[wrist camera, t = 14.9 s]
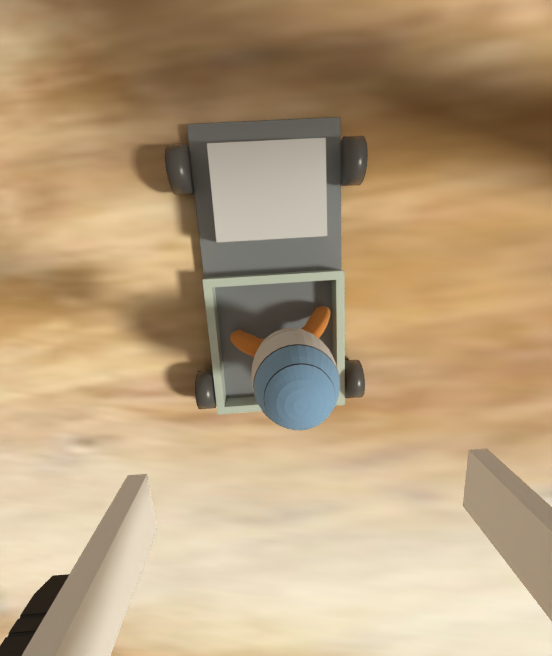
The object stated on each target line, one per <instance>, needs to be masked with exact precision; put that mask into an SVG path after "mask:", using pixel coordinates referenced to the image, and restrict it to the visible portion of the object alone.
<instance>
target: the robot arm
mask: <svg viewBox="0 0 552 656" xmlns="http://www.w3.org/2000/svg"><path fill="white" fill-rule="evenodd" d="M463 507H464V508H465V509H466V510H467V512H468V513H469V514H470V516H471V517H472V518H473V520H474V521H475V522H476V523H477V525H478V526H479V527H480V529H481V530H482V531H483V533H484V534H485V535H486V536H487V538H488V539H489V540H490V542H491V543H492V544H493V546H494V547H495V548H496V549H497V551H498V552H499V553H500V555H501V556H502V557H503V559H504V560H505V561H506V562H507V564H508V565H509V566H510V568H511V569H512V570H513V572H514V573H515V574H516V575H517V577H518V578H519V579H520V581H521V582H522V583H523V585H524V586H525V587H526V588H527V590H528V591H529V592H530V594H531V595H532V596H533V598H534V599H535V600H536V601H537V603H538V604H539V605H540V607H541V608H542V609H543V611H544V612H545V613H546V614H547V616H548V617H549V618H550V620H551V621H552V507H551V506H550V505H549V504H548V503H547V502H545V501H544V500H543V499H542V498H541V497H540V496H539V495H538V494H537V493H535V492H534V491H533V490H532V489H531V488H530V487H529V486H528V485H527V484H526V483H524V482H523V481H522V480H521V479H520V478H519V477H518V476H517V475H516V474H514V473H513V472H512V471H511V470H510V469H509V468H508V467H507V466H506V465H505V464H503V463H502V462H501V461H500V460H499V459H498V458H497V457H496V456H495V455H493V454H492V453H491V452H490V451H489V450H488V449H475V450H469V451H468V461H467V471H466V480H465V490H464V499H463ZM156 532H157V526H156V520H155V515H154V509H153V504H152V498H151V493H150V487H149V482H148V476H147V474H141V475H128V476H127V478H126V479H125V481H124V483H123V485H122V486H121V488H120V490H119V491H118V493H117V495H116V496H115V498H114V500H113V502H112V503H111V505H110V507H109V508H108V510H107V512H106V513H105V515H104V517H103V518H102V520H101V522H100V524H99V525H98V527H97V529H96V530H95V532H94V534H93V535H92V537H91V539H90V541H89V542H88V544H87V546H86V547H85V549H84V551H83V552H82V554H81V556H80V558H79V559H78V561H77V563H76V564H75V566H74V568H73V569H72V571H71V573H70V574H68V575H56V576H52V577H51V578H50V579H49V580H48V581H47V582H46V583H45V584H44V585H43V586H42V587H41V588H40V589H39V590H38V591H37V592H36V593H35V594H34V595H33V597H32V598H31V600H30V601H29V603H28V604H27V606H26V607H25V609H24V611H23V612H22V614H21V616H20V619H18V620H17V621H16V623H15V624H14V626H13V627H12V629H11V630H10V632H9V635H8V637H6V638H5V639H4V641H3V642H2V644H1V646H0V656H110V655H111V653H112V650H113V647H114V645H115V642H116V639H117V636H118V634H119V631H120V628H121V626H122V623H123V620H124V618H125V615H126V612H127V610H128V607H129V604H130V602H131V599H132V596H133V594H134V591H135V588H136V585H137V583H138V580H139V577H140V575H141V572H142V569H143V567H144V564H145V561H146V559H147V556H148V553H149V551H150V548H151V545H152V543H153V540H154V537H155V535H156Z"/></svg>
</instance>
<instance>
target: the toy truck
mask: <svg viewBox="0 0 552 656" xmlns="http://www.w3.org/2000/svg"><path fill="white" fill-rule="evenodd" d="M187 131H188V140H189V148H188V146H187V145H186V144H182V145H167V146H166V148H165V163H166V170H167V175H168V179H169V183H170V186H171V189H172V191H173V193H174V194H175V195H177V194H195V203H196V212H197V221H198V230H199V239H200V248H201V257H202V266H203V275H204V279H203V289H204V298H205V307H206V316H207V325H208V334H209V342H210V351H211V360H212V369H213V370H207V371H198V372H197V375H196V381H195V395H196V402H197V406H198V408H199V409H210V408H216V406H217V414H231V413H245V412H258V411H262V410H261V408H260V406H259V405H258V403H257V401H256V398H255V396H254V393H253V388H252V382H251V373H252V364H253V360H254V357H253V356H250V355H248V354H246V353H244V352H242V351H241V350H239V349H238V348H237V347H236V346H235V345H234V344H233V343H232V342H231V340H230V336H231V334H232V333H233V332H234V331H237V330H242V331H244V332H247V333H249V334H251V335H254V336H256V337H257V338H260V339H266V338H267V337H268V336H269V335H270V334H272V333H274V332H276V331H278V330H281V329H285V328H298V329H301V328H302V327H303V326H305V325H306V322H307V320H308V319H309V318H310V316H311V315H312V313H313V312H314V310H315V309H316V308H317V307H320V306H326V307H328V308H329V310H330V318H329V322H328V325H327V327H326V329H325V330H324V332H323V334H322V335H321V336H320V338H319V339H320V340H321V341H322V342H323V343H324V344H325V345H326V346H327V348H328V349H329V350H330V352H331V354H332V356H333V358H334V360H335V362H336V365H337V369H338V372H339V377H340V391H339V397H338V399H337V402H336V405H335V406H337V405H345V398H356V397H363V395H364V391H365V379H364V373H363V368H362V365H361V363H360V361H359V360H348V361H345V300H344V271H343V270H341V185H342V186H348V185H360V184H361V183H362V182H363V180H364V177H365V173H366V167H367V143H366V139H365V137H364V136H349V137H343V139H342V141H341V144H340V117H332V118H310V119H288V120H266V121H244V122H222V123H201V124H187ZM189 149H190V151H189Z"/></svg>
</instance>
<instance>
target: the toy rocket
mask: <svg viewBox="0 0 552 656" xmlns="http://www.w3.org/2000/svg"><path fill="white" fill-rule="evenodd" d="M329 318H330V310H329V308H328V307H326V306H320V307H317V308H316V309H315V310H314V312H313V313H312V315H311V316H310V318H309V319H308V320H307V322H306V325H305V326H303V327H302V328H301V329H298V328H285V329H281V330H278V331H276V332H274V333H272V334H270V335H269V336H268V337H267V338H266V339H260V338H257V337H256V336H254V335H251V334H249V333H247V332H244V331H242V330H237V331H234V332H233V333H232V334H231V336H230V340H231V342H232V343H233V344H234V345H235V346H236V347H237V348H238V349H239V350H241V351H242V352H244V353H246V354H248V355H250V356H253V357H254V360H253V364H252V373H251V382H252V388H253V393H254V396H255V398H256V401H257V403H258V405H259V406H260V408H261V410H262V411H263V413H264V414H265V415H266V416H267V417H268V418H269V419H270V420H272V421H273V422H275V423H276V424H278V425H280V426H282V427H285V428H287V429H292V430H307V429H310V428H313V427H315V426H317V425H319V424H321V423H322V422H323V421H325V420H326V418H327V417H328V416H329V415H330V413H331V412H332V411H333V409H334V407H335V405H336V402H337V399H338V397H339V391H340V377H339V372H338V369H337V365H336V362H335V360H334V358H333V356H332V354H331V352H330V350H329V349H328V348H327V346H326V345H325V344H324V343H323V342H322V341H321V340H320V339H319V338H320V336H321V335H322V334H323V332H324V330H325V329H326V327H327V325H328V322H329Z"/></svg>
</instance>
